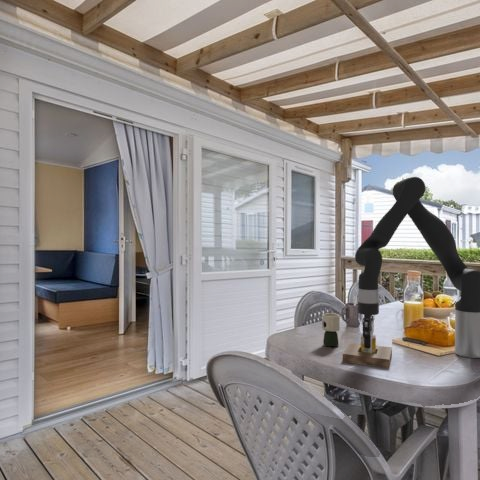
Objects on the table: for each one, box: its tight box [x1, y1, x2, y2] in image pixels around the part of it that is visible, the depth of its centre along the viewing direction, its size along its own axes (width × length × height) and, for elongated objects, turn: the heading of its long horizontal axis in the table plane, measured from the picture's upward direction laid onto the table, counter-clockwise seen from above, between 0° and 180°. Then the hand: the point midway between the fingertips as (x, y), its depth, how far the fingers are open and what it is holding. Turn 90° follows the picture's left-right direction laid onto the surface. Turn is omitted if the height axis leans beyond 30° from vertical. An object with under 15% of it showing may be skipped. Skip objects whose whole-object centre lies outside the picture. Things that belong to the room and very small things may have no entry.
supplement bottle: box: [360, 328, 377, 354], centre depth 144 cm, size 5×5×10 cm
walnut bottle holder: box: [342, 342, 393, 369], centre depth 144 cm, size 16×16×3 cm
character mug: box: [321, 312, 341, 348], centre depth 160 cm, size 11×7×13 cm, turn 175°
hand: (368, 345), depth 144 cm, fingers closed on supplement bottle, 5 cm apart
